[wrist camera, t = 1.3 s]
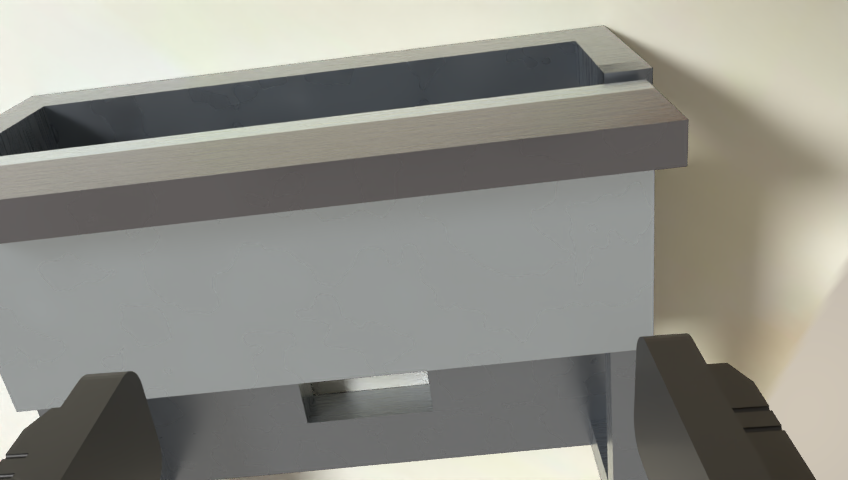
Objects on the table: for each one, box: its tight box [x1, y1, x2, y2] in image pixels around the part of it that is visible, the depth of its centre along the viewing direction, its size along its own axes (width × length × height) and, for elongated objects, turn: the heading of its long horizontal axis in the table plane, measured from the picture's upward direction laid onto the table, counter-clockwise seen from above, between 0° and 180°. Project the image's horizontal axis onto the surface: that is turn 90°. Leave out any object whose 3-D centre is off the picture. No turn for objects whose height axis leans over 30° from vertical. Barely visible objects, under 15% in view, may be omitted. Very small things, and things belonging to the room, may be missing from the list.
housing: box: [0, 26, 653, 480], centre depth 30 cm, size 18×22×7 cm
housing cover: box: [0, 79, 688, 412], centre depth 23 cm, size 9×21×4 cm, turn 97°
